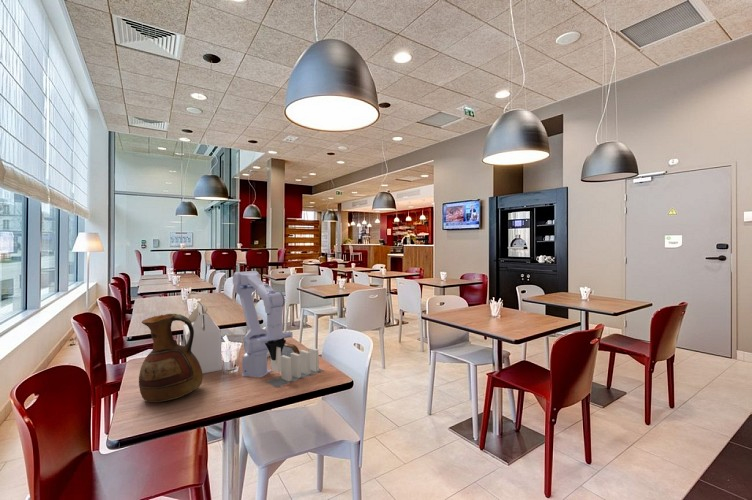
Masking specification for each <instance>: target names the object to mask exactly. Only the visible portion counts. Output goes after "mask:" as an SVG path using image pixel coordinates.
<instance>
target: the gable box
mask: <svg viewBox="0 0 752 500" xmlns="http://www.w3.org/2000/svg"><path fill="white" fill-rule="evenodd" d="M207 311H208V308H207V307H206V305H205V304H204V303H201V302H200V301H198V307H196V308H195V309H193V311H192V313H191V314H190V315H189V317H187V318H188V319H189V320H190V321H191V323H192V326H193V329H194V336H193V342H192V347H191V352H192V353H193V354H194V355H195V357H196V358H197V360H198V361H199V364H200V366H201V370H202V375H203V374H208V373H212V372H218V371H222V370H223V359H222V358H223V357H222V356H223V355H222V354H223V353H222V331H221V329H220V327H219V326H218V325H217V324H216V322H215V321H214V320H213V319H212V317H211V316H210V315H209V314H208V312H207ZM182 328H183V346H185V345H186V344H187V343H188V340H189V337H190V331H189V328H188V326H187V324H186V323H184V324H183V326H182ZM221 353H222V354H221Z"/></svg>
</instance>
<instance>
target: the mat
mask: <svg viewBox="0 0 752 500" xmlns="http://www.w3.org/2000/svg"><path fill="white" fill-rule="evenodd" d="M324 371H325V370H324V369H321V368H319V371H317V372H315V371H313V370H310V374H308V375H306V374H304V373H301V377H300V378H297V377H294V376H292V380H291V381H286V380H284V379H282V378H281V376H280V377H279V376H278V377H276V378H273V379H270V380H267V381H265V383H266V384H268V385H269V386H270V385H271V386H272V387H274V388H279V387H282V386H284V385H287V384H290V383H293V382H296V381H298V380H302V379H305V378H307V377H310V376H314V375H316V374H318V373H322V372H324Z"/></svg>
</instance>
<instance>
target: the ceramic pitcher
mask: <svg viewBox="0 0 752 500" xmlns="http://www.w3.org/2000/svg"><path fill="white" fill-rule="evenodd" d="M188 318H189V317H187V316H185V315H182V314H178V313H165V314H159V315H154V316H152V317H148V318H146V319H143V320H142V321H141V324H143V325H144V326H146V327H147V328H148V329H149V331H150V338H151V339H152V341H153V345H152V350H151V351H150V352H149V353H148V354H147V355H146V357H145V358H144V360H143V363H142V365H141V367H140V370H139V376H138V387H139V388H138V389H139V393H140V396H141V397H142V399H143V400H144V401H145V402H150V403H160V402H166V401H170V400H175V399H177V398H178V399H179V398H181V397H183V396H185V395H187V394H189V393H191V392H194V391H195V390H197V389H198V388H199V387H201V386H202V383H203V379H204V378H203V377H204V376H203V374H202V370H201V366H200V364H199V361H198V360H197V358H196V357H195V355H194V354H193V353H192V352H191V347H192V342H193V336H194V329H193V326H192V323H191V321H190V320H189V319H188ZM175 321H179V322H183V323H184V324H185V323H186V324H187V326H188V328H189V331H190V337H189V340H188V343H187V344H186V345H185V346H184V345H182V344H181V345H180V344H178V343H177V342H176V341H175V339H174V337H173V333H172V324H173V322H175Z"/></svg>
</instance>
